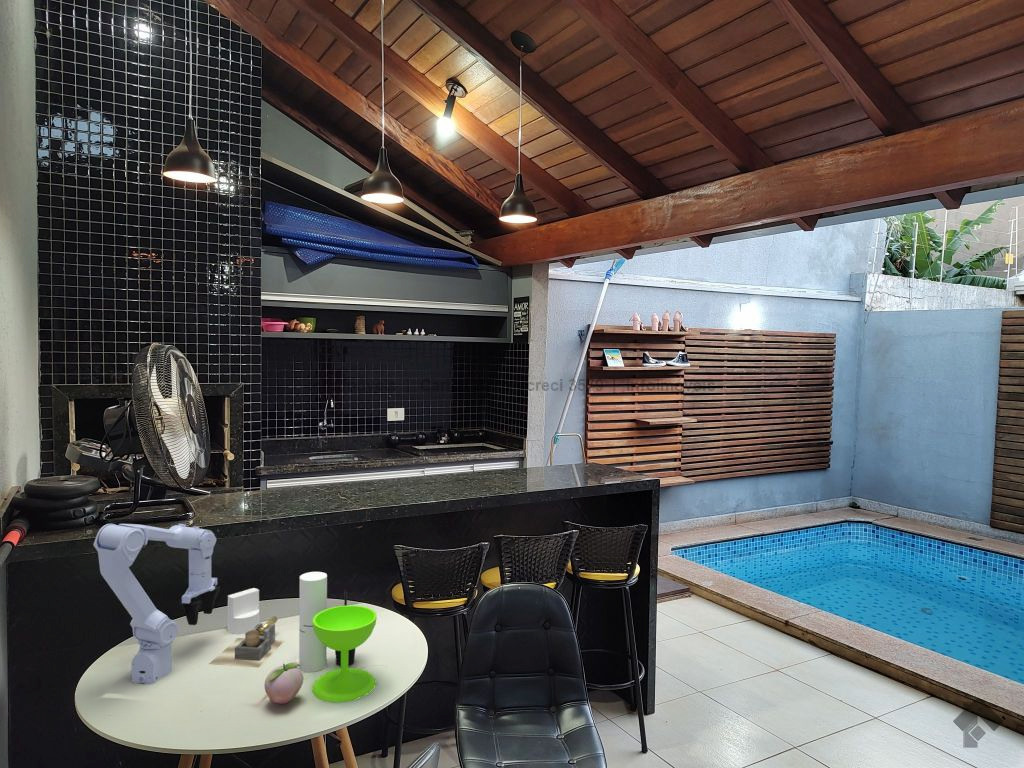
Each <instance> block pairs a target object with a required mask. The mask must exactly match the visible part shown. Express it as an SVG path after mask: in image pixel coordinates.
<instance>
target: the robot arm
mask: <svg viewBox="0 0 1024 768" xmlns="http://www.w3.org/2000/svg"><path fill="white" fill-rule="evenodd" d="M148 541H159V542H165V544H166V545H167V546H168V547H170V548H175V549H177V548H178V549H185V550H188V588H187V589H186V591H185V592H184V594H183V595H182V596H181V599H180V600H179V601H178V602H179V603H178V604H179V606H180V607H181V609H182V611H183V612H184V614H185V618H186V620H187V625H189V626H196V625H197V624H198V620H199V611H200V609H201V608H200V607H201V605H202V612H203V614H205V615H211V614H212V613H213V610H214V605H215V602H216V598H217V597H218V594H219V592H220V590H221V587H220V586H217V585H218V577H212V555H213V553H214V547H215V545H216V543H217V537H216V536H215V533H214V532H213V531H212V530H211V529H203V528H200V527H199V526H192V527H189V526H187V524H186V523H185V524H184V523H178V524H175V525H172V526H171V527H169V528H162V527H157V526H151V525H144V524H139V523H138V524H136V523H135V524H134V523H118V525H117V524H115V523H106V524H105V525H103V526H102V527H101V528H99V530H98V532H97V534H96V536H95V539H94V542H93V545H92V546H93V547H94V548H95V550H96V551H97V556H98V564H99V571H100V575H101V577H102V578H103V579H104V580H105V581H106V583H107V585H108V586H109V588H110V589H111V590H112V591H113V593H114V594H115V596H116V597H117V599H118V600H119V601H120V603H121V604H122V606H123V607H124V608H125V610H126V611H127V613H128V614H129V615H130V617H131V618H132V619H131V621H130V623H129V625H130V627H131V628H132V635H133V637H134V639H136V640H137V644H138V645H139V649H138V651H137V653H136V654H135V655H134V657H133V658H132V660H131V667H130V668H131V683H136V684H139V683H140V684H149V685H150V684H153V685H154V684H155V683H157V682H158V681H159V680H160V679H162V678H163V677H165V676H167V675H169V674H170V673H171V671H172V644H173V643H174V641H175V640H176V637H177V635H178V633H179V625H178V623H177V621H175V620H173V619H170V617H168V615H166V614H165V613H163V611H160V610H159V609H157V607H156V606H155V605H154V603H153V602H152V599H150V597H149V595H148V594H147V592H145V590H144V588H143V587H142V585H141V584H140V582H139V581H138V580H137V578H136V576H135V575H134V574H133V572H132V571H131V569H130V567H131V566H132V565H133V564H134V562H135V560H136V559H137V557H138V555H139V553H140V551H141V550H142V548H143V546H147V544H148ZM199 596H200V599H201V600H197V599H196V598H197V597H199Z"/></svg>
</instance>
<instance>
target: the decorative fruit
mask: <svg viewBox="0 0 1024 768" xmlns="http://www.w3.org/2000/svg"><path fill="white" fill-rule="evenodd" d="M299 666H300V664H299V663H298V662H289V663H286V664H285V663H283V664H282V665H279V666H276V667H274V668H273V669H272V670H271V671H270V672H269V673H268V674H267V676H266V678H265V680H264V685H263V686H264V691H265V693H266V695H267V697H268V699H269V700H270V701H272V702H273V703H275V704H281V705H283V704H287V703H288V702H289V701H291V700H292V699H294V698H295V697H296V696H297V695H298V693H299V692H300V690H301V688H302V686H303V684H304V679H305V677H304V674H303V671H301V670H300V669H299Z"/></svg>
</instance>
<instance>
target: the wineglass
mask: <svg viewBox="0 0 1024 768" xmlns="http://www.w3.org/2000/svg"><path fill="white" fill-rule="evenodd" d="M377 618H378V617H377V612H376V611H375V610H374V609H372V608H370V607H368V606H367V607H366V606H362V605H354V604H353V605H349V604H347V605H346V606H344V605H339V606H332V607H329V608H327V609H326V610H323V611H321V612H319V613H318V614H316V615H315V616H314V618H313V628H314V631H315V634H316V636H317V638H318V639H319V640H320V641H321V642H322V643H323V645H325V646H326V647H327V648H328V649H330V650H334V651H335V650H336V651H341V666H340V668H337V669H334V670H331V671H330V670H329V671H328V672H325V673H324V674H322V675H321V676H318V678H317V679H316V680H315V681H314V683H313V685H312V688H311V690H312V691H311V692H312V694H313V695H314V696H315V697H316V698H317V699H319V700H322V701H324V702H329V703H330V702H331V703H346V702H345V701H347V702H351V701H350V700H352V701H354V700H355V699H356V700H358V699H357V698H359V697H361V698H363V697H362V696H364V695H365V694H367V693H369V692H370V691H371V690H372V689H373V688H374V686H375V687H376V685H375V684H377V683H376V682H375V681H376V678H375V676H374V675H373V674H372V673H370V672H369V671H367V670H364V669H361V668H356V667H355V668H354V667H349V666H348V650H352V649H355V650H356V648H358V647H359V646H361V645H362V644H364V643H365V642H367V640H368V639H369V638H370V637H371V635H372V633H373V631H374V629H375V626H376V623H377V622H376V621H377ZM374 689H375V688H374ZM374 689H373V690H374ZM373 690H372V691H373ZM372 691H371V692H372ZM371 692H370V693H371ZM370 693H369V694H370ZM367 695H368V694H367ZM364 697H365V696H364ZM359 699H360V698H359Z"/></svg>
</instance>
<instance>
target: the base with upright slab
mask: <svg viewBox="0 0 1024 768" xmlns="http://www.w3.org/2000/svg"><path fill="white" fill-rule="evenodd" d="M226 619H227V621H226V622H227V625H226V626H227V632H228V633H229V634H235V635H245V633H246V632H248V631H251V630H252V629H253V628H254V627H255V626H256V625H258V624H259V623H260V589H258V588H255V587H253V588H248V589H245V590H242V591H238V592H235V593H231V594H228V595H227V617H226Z"/></svg>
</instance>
